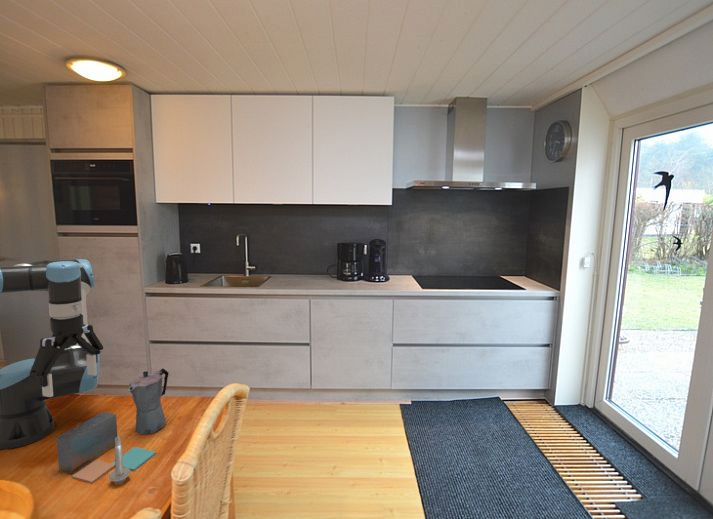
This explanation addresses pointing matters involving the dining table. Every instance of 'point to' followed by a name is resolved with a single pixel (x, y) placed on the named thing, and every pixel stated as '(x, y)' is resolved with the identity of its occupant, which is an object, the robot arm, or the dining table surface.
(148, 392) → the moka pot
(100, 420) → the grey unit
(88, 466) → the terracotta pad
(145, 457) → the teal pad
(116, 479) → the screw
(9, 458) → the dining table surface
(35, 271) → the robot arm
